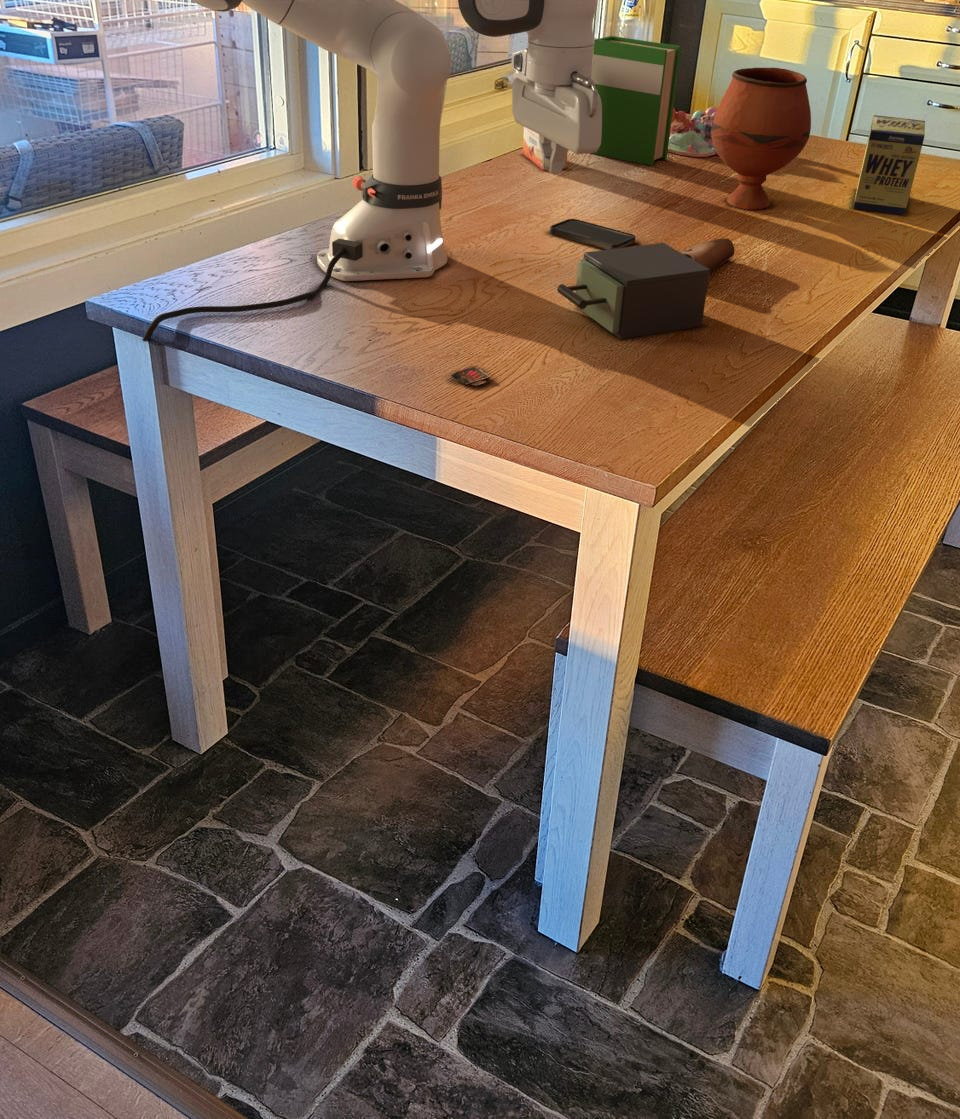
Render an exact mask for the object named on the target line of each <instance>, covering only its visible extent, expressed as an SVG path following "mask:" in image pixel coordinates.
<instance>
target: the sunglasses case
mask: <svg viewBox="0 0 960 1119" xmlns="http://www.w3.org/2000/svg"><path fill="white" fill-rule="evenodd" d="M735 250H736V249H735V246H734V242H732V240H731V239H729V238H727V237H725V238H715V239H712V240H711V239H710V240H707V241H704V242H701V243H698V244H695V245H693V246H690V247H688V248H684V249H683V250H681V251H679V252H680V253H682V254H684V255H686V256H687V257H689V258H691V259H693V260H694V261H696V262H698V263H699V264H701V265H703V266H705V267H706V268H708V269H710V274H711V273H712V272H714V270H716V269H717V268H719V267H720V266H721V265H723V264H724V263H725V262H726V261H728V260H730V259H731V258H732V257H733V256H734V255H735Z"/></svg>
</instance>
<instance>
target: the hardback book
mask: <svg viewBox="0 0 960 1119" xmlns="http://www.w3.org/2000/svg"><path fill="white" fill-rule="evenodd" d="M681 50H682V46H681V45H676V44H670V43H663V42H657V41H656V42H655V41H649V40H644V39H643V40H642V39H637V38H636V39H635V38H630V37H622V36H616V35H608V36H604V37H600V38H599V37H598V38H594V50H593V62H592V74H591V79H592V80H593V81H594V85H595V88H596V90H597V91H598V94H599V96H600V98H601V103H602V135H601V145H600V147H599V149H598V150H597V152H595V153H592V154H594V155H599V156H604V157H609V158H612V159H618V160H622V161H628V162H633V163H637V164H642V165H646V166H654V162H655V160H663V161H667V160H668V153H669V152H668V145H669V137H670V129H671V127H672V123H671V121H672V113H673V108H674V104H675V97H676V89H677V82H678V73H679V66H680V59H681ZM591 88H592V87H591Z"/></svg>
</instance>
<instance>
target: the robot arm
mask: <svg viewBox="0 0 960 1119" xmlns="http://www.w3.org/2000/svg"><path fill="white" fill-rule="evenodd" d="M191 1H192V2H193V3H195V4H197V5H199V6H200V7H203V8H205V9H208V10H212V11H216V12H221V13H222V12H223V13H224V12H229V11H231V10H234V9H237V8H238V7H239V6H240V5H241V4H242V3H243V4H244V5H245V6H247V7H248V8H250V9H251V10H253V11H254V12H255V13H257V14H258V15H260V16H261V17H264V18H265V19H267V20H269V21H270V22H272V23H274V24H276V25H277V26H279V27H282V29H285V30H287V31H289V32H291V33H293V34H295V35H296V36H299V37H300V38H302V39H304V40H305V41H308V42H310V43H312V44H313V45H315V46H317V47H318V48H321V49H322V50H325V51H327V52H329V53H331V54H335V55H337V56H339V57H341V58H343V59H346V60H348V61H350V62H352V63H353V64H356V65H358V66H360V67H363V68H364V69H366V70H368V71H370V72H372V73H374V74H375V75H376V78H377V87H376V88H377V90H376V102H375V110H374V118H373V121H372V125H371V141H372V142H371V145H372V146H371V147H372V174H371V176H369V178H368V179H367V180H366V179H365V178H364V177H362V176H360V175H357V176H355V177H354V179H352V186H353V187H354V188H355V189H357V191H359V192H361V194H362V199H361V200H360V201H358V202H357V203H356V204H355V205H354V206H353V207H352V208H350V210H348V211H347V212H346V213H345V214H344V215H342V216H341V217H340V218H339V219H337V220H336V221H335V222H334V224H333V226H332V228H331V231H330V237H329V245H328V246H329V247H328V248H324V249H321V250H319V251H318V252H317V255H316V263H317V265H318V267H319V268H320V269H321V270H322V271H323V273H325V275H324V277H323V278H322V280H321V282H320V283H319V285H318V286H317V287H316V288H314V290H312V291H309V292H305V293H301V294H299V295H295V296H292V297H289V298H284V299H281V300H275V301H268V302H259V303H252V304H243V305H222V306H220V305H205V306H202V305H201V306H190V307H185V308H181V309H177V310H173V311H168V312H164V313H161V314H159V315H157V316H156V317H154V319H153V320H152V321H151V323H150V324H149V326H148V328H147V329H146V331H145V333H144V335H143V337H142V341H143V342H147V341H150V340H151V338H152V336H153V334H154V332H155V330H156V329H157V327H158V326H159V325H160V324H161V323H162V322H164V321H166V320H169V319H173V318H177V317H182V316H185V315H186V316H187V315H191V314H199V313H241V312H250V311H260V310H267V309H273V308H279V307H284V306H289V305H294V304H297V303H299V302H302V301H305V300H309V299H311V298H313V297H315V296H316V295H317V294H318V293H319V292H320V291H321V290H322V289H324V288H326V286H327V284H328V283H329V281H330V280H331V278H334V279H336V280H339V281H344V282H358V281H359V282H360V281H377V280H395V279H397V280H398V279H399V280H400V279H415V278H417V279H418V278H429V277H432V276H433V275H434V273H435V271H436V270H438V269H440V268H442V267H443V266H445V265H446V264H447V263H448V260H449V259H448V255H447V252H446V247H445V244H444V238H443V232H442V223H441V222H442V221H441V210H442V202H443V184H442V182H443V181H442V180H443V179H442V177H441V175H440V147H441V146H440V144H441V143H440V142H441V141H440V140H441V139H440V138H441V123H442V116H443V110H444V105H445V99H446V92H447V85H448V79H449V78H450V75H451V72H452V54H451V50H450V47H449V44H448V41H447V39H446V37H445V35H444V33H443V32H442V30H440V28H439V27H437V25H435V24H434V23H432V22H431V21H430V20H428V19H427V18H425V17H423V16H422V15H421V14H419V13H417V11H414V10H413V9H412V8H410V7H408V6H406V5H404V4H403V3H401V2H399V1H398V0H191ZM457 4H458V9H459V12H460V14H461V16H462V18H463V20H464V22H465V23H466V24H467V25H468V27H469V28H471V30H473V31H474V32H476V33H477V34H480V35H482V36H485V37H490V38H502V37H506V36H510V35H517V34H521V33H526V34H527V37H528V38H527V47H526V48H524V49H521V50H519V51H515V52H513V53H512V55H511V70H513V71H514V74H513V76H512V86H511V87H512V88H511V111H512V116H513V119H514V122H515V123H516V124H518V125H521V126H522V127H523V128H524V127H526V128H528V129H530V130H532V131H534V132H536V133H537V134H539V144H540V148H541V152H542V156H543V160H542V167H543V168H544V169H545V170H544V171H548V172H549V173H551V174H553V175H556V174H557V175H559V174H562V172H563V170H564V169H563V160H564V159H565V157H566V155H567V156H568V152H569V151H570V152H572V153H575V154H576V155H584V154H585V155H586V154H593V153H595V152H597V150H598V149H599V147H600V145H601V135H602V103H601V98H600V96H599V94H598V91H597V90H596V88H595V85H594V81H593V80H592V79H591V74H592V63H593V51H594V40H595V35H594V25H593V24H594V18H595V15H596V13H597V10H598V4H599V1H598V0H457ZM591 87H592V88H591Z"/></svg>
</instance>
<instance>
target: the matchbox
mask: <svg viewBox="0 0 960 1119" xmlns="http://www.w3.org/2000/svg"><path fill="white" fill-rule="evenodd" d="M450 377H452V379H455V380H456V381H458V382H459V383H462V384H464V385H468V384H469V385H472V386H476V387H477V386H480V385H484V384H485V383H486V382H487V380H485V379H487V378H489V377H491V375H489V374H487V373H486V372H484V371H483V369H480V368H478V367H475V366H470V367H467V368H465V369H462V370H457V371H455V372H454V373H452V374H451V375H450ZM455 380H453V381H455ZM456 381H455V382H456Z"/></svg>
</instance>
